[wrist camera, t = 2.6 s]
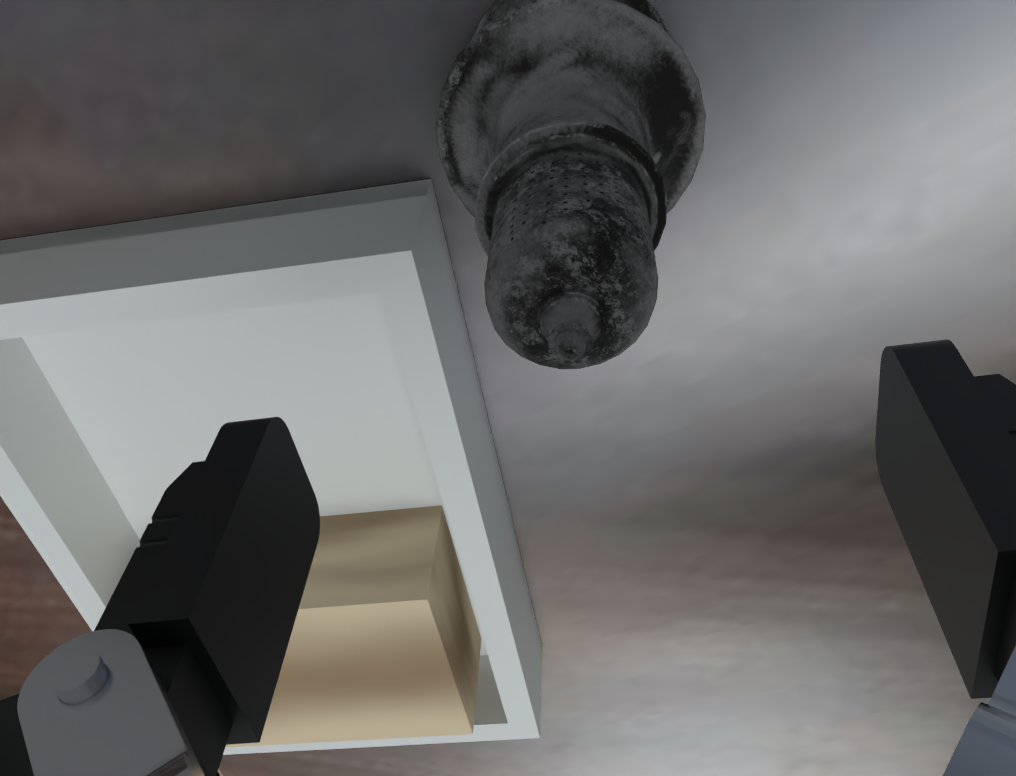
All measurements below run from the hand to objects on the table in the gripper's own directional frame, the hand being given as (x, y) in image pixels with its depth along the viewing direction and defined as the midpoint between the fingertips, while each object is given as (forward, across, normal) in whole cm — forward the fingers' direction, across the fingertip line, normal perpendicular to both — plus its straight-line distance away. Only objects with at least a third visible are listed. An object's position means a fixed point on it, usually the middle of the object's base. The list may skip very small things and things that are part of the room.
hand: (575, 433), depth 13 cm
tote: (+14, +11, +12) cm, 21 cm away
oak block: (+13, +11, +16) cm, 23 cm away
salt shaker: (+14, 0, 0) cm, 14 cm away
